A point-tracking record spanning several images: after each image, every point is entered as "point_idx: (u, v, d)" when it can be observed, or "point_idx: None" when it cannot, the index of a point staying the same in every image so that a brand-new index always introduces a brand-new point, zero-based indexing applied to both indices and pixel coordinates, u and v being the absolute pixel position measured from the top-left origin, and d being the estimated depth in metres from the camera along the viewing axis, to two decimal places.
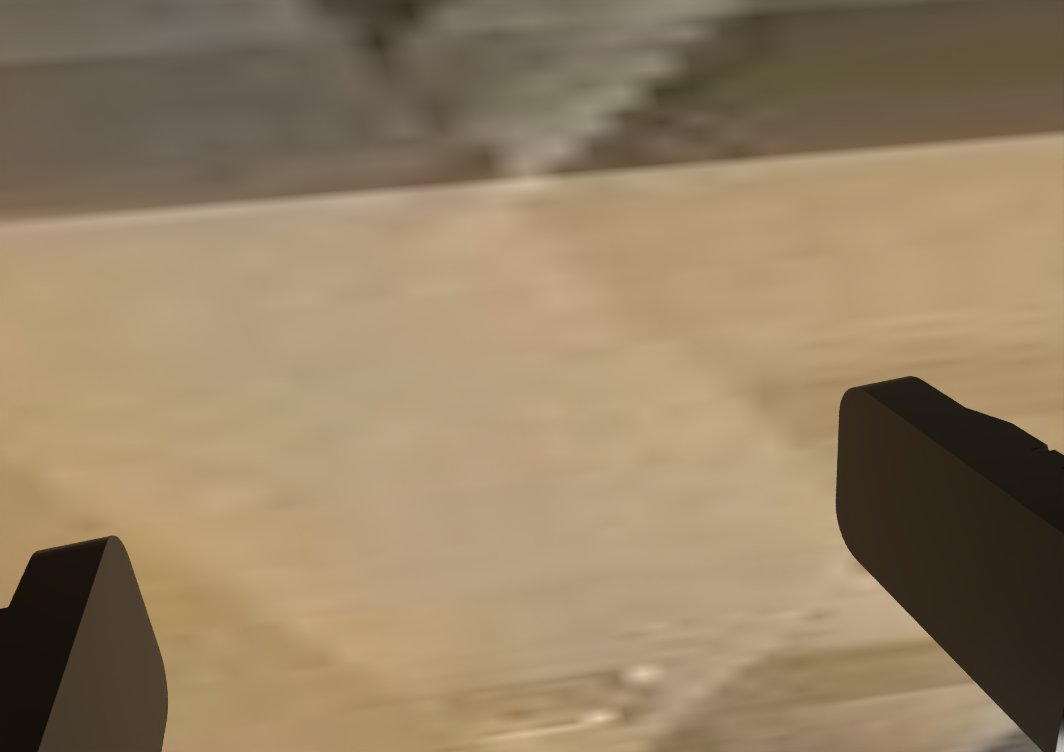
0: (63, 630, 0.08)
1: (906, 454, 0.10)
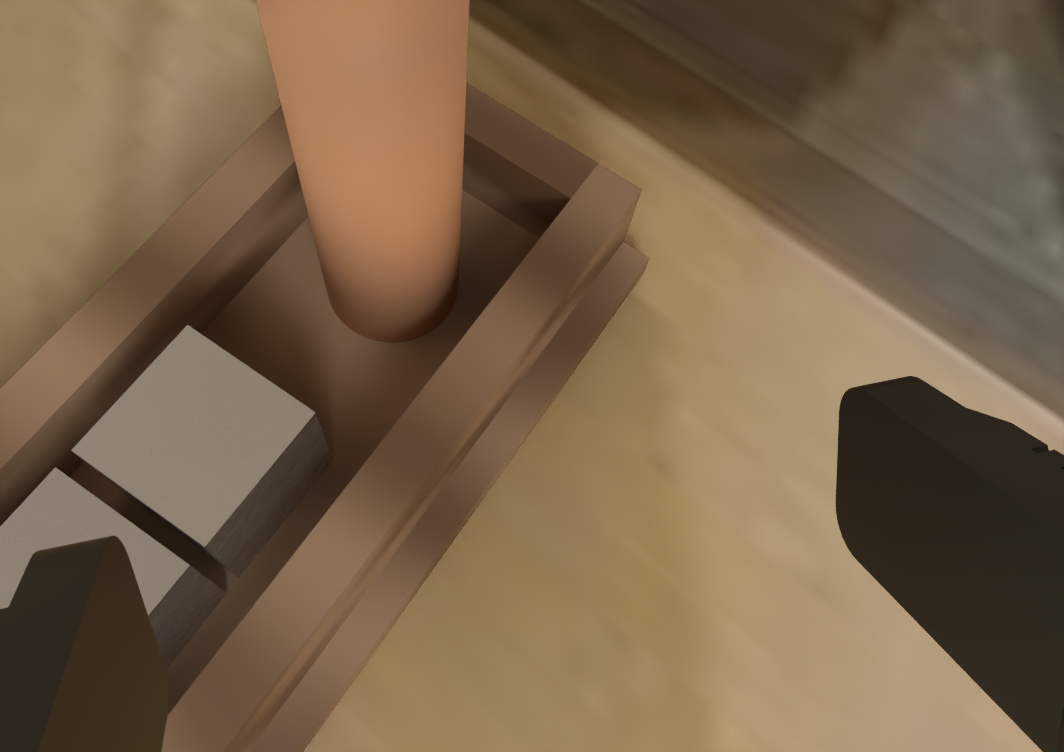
0: (63, 630, 0.08)
1: (906, 454, 0.10)
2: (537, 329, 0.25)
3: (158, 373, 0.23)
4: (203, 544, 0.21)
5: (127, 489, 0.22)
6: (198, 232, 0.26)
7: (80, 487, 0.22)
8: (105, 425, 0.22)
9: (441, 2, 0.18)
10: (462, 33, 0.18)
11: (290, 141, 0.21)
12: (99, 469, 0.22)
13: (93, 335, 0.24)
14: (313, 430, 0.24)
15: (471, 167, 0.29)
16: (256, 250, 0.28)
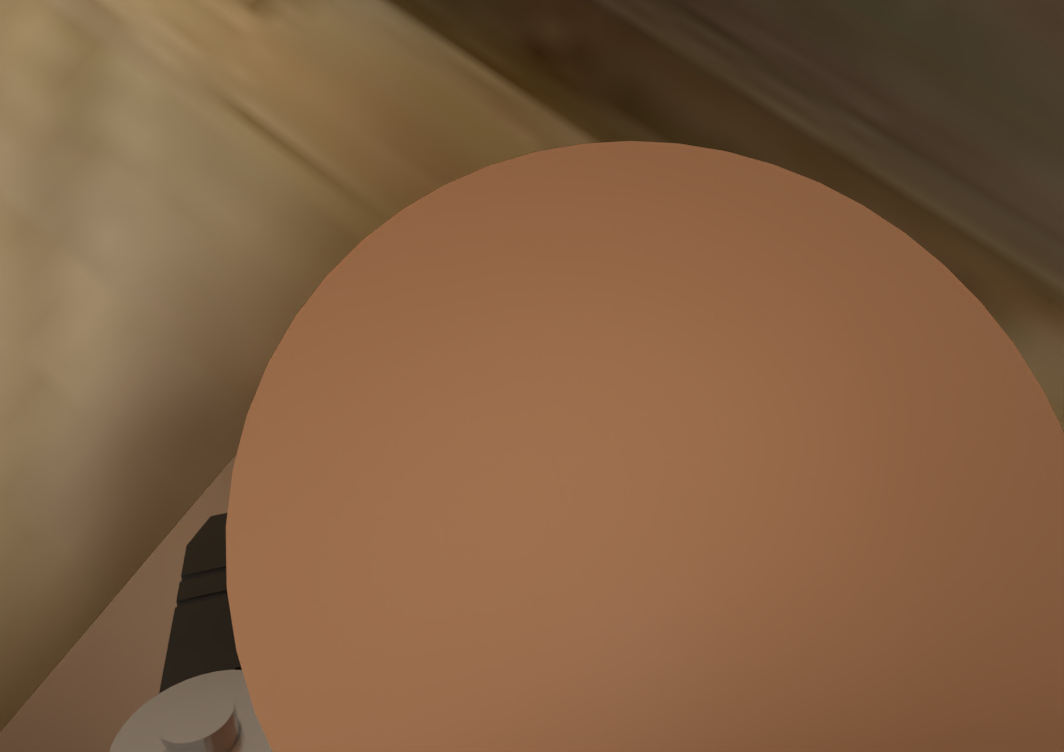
0: None
1: None
2: None
3: None
4: None
5: None
6: (124, 691, 0.12)
7: None
8: None
9: (990, 562, 0.04)
10: None
11: None
12: None
13: None
14: None
15: None
16: None
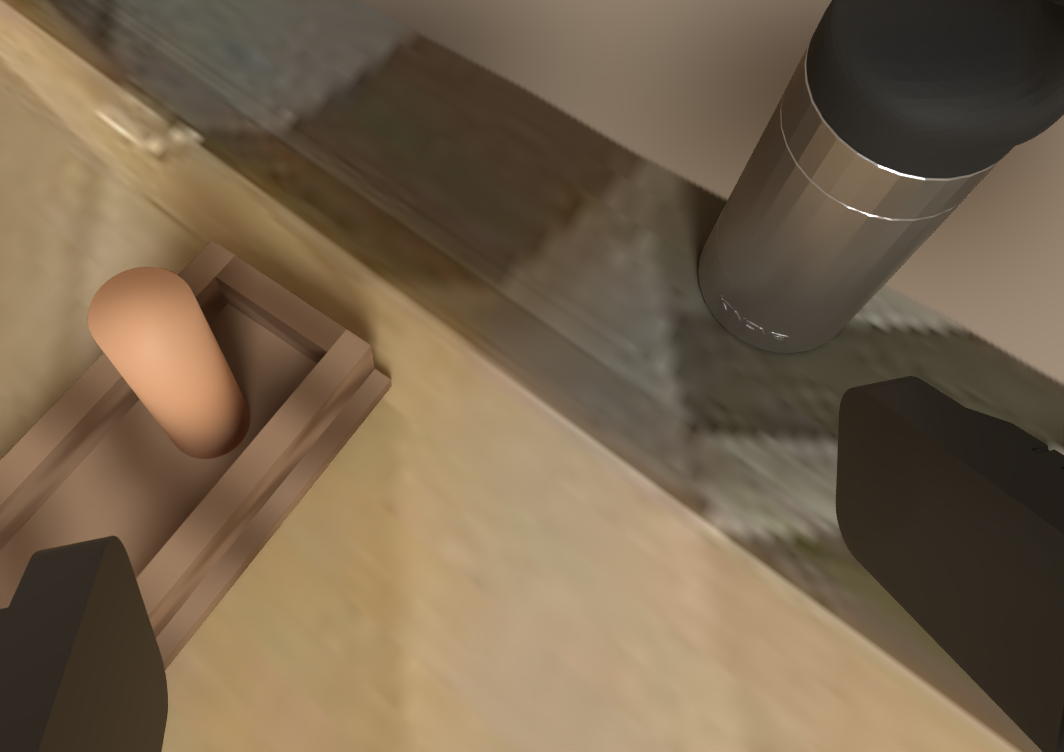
0: (63, 630, 0.08)
1: (905, 454, 0.10)
2: (299, 432, 0.44)
3: None
4: None
5: None
6: (105, 376, 0.45)
7: None
8: None
9: (180, 318, 0.36)
10: (192, 332, 0.36)
11: None
12: None
13: (43, 438, 0.43)
14: None
15: (276, 327, 0.48)
16: None
